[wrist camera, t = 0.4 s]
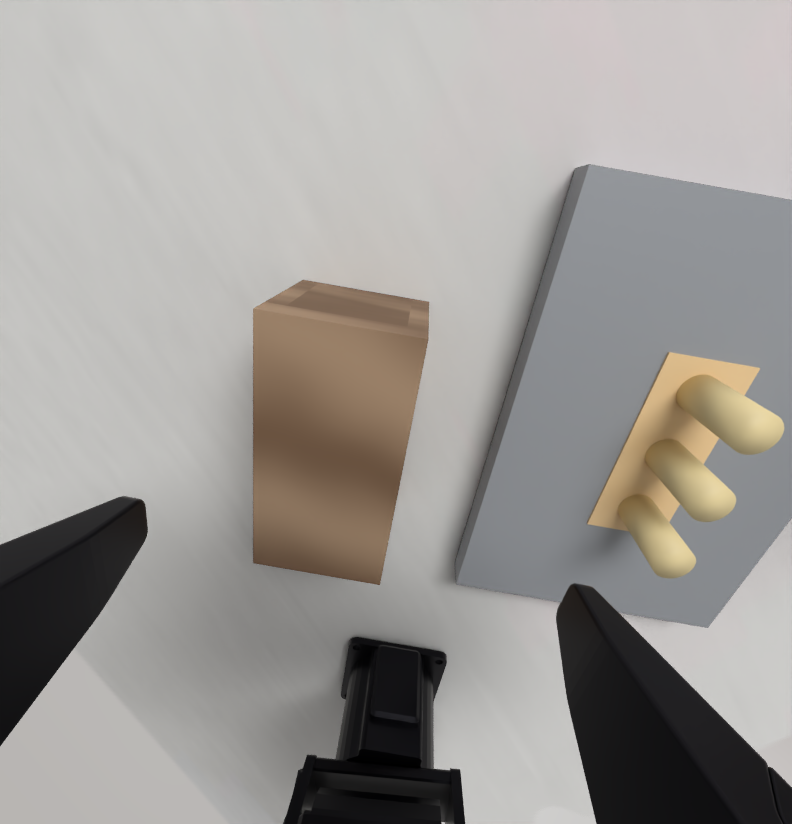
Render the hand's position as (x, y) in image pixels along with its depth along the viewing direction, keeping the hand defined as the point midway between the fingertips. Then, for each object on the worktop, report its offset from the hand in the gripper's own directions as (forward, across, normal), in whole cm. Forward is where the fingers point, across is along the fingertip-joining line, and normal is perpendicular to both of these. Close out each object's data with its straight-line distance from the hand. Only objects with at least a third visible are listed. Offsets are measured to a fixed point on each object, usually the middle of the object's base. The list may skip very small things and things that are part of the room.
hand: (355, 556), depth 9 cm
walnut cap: (+12, +2, +2) cm, 12 cm away
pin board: (+12, -12, +1) cm, 17 cm away
